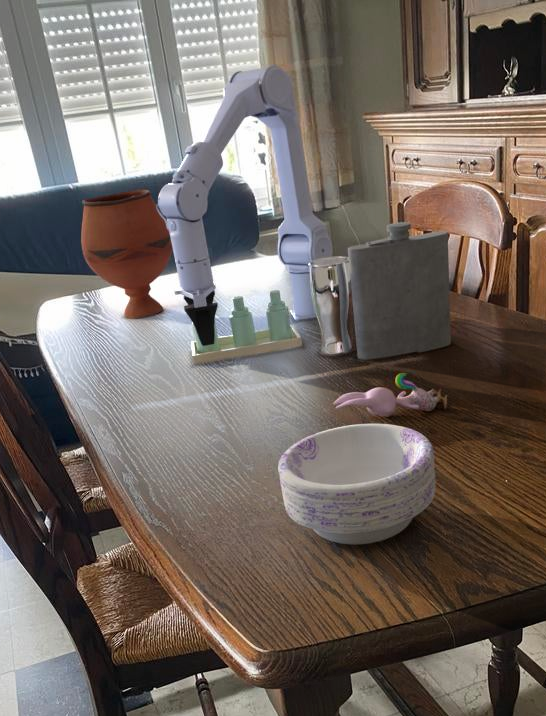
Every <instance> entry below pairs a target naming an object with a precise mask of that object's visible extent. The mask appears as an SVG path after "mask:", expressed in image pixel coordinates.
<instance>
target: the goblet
mask: <svg viewBox="0 0 546 716" xmlns="http://www.w3.org/2000/svg"><path fill="white" fill-rule="evenodd" d="M81 203H82V205H83V211H82V212H83V213H82V222H81V236H80V239H81V240H80V242H81V243H80V244H81V250H82V254H83V258H84V261H85V262H86V264H87V266H88V267H89V268H90V269H91V270H92V271H93V273H95V274H96V275H97V276H98V277H99V278H100V279H102V280H103V281H105V282H106V283H109V284H111V285H112V286H115V287H117V288H119V289H123V290H124V294H125V295H126V296H128V297H129V300H128V303H127V304H126V307H125V309H124V312H123V316H124V318H127V319H139V318H140V319H142V318H147V317H150V316H154V315H157V314H159V313H160V312H162V311H164V307H163V306H162V305H161V303H160V302H159V301H158V300H156V299H155V298H154V297H152V296H151V295H150V292H151V290H152V288H151V284H152V283H153V282H154V281H156V280H157V279H158V277H160V276H161V274H162V273H163V272H164V270H165V269H166V267H167V265H168V264H169V261H170V259H171V256H172V252H173V247H172V242H171V237H170V232H169V229H167V226H166V222H165V220H164V219H163V218H162V217H161V216H160V214H159V213H158V210H157V208H156V205H157V204H156V202H155V201H154V199H153V198H152V193H151V191H150V190H148V189H135V190H131V191H125V192H117V193H113V194H105V195H103V196H102V195H101V196H97V197H93V198H88V199H83V200H82V202H81Z"/></svg>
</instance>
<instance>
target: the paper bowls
mask: <svg viewBox="0 0 546 716" xmlns="http://www.w3.org/2000/svg"><path fill="white" fill-rule="evenodd" d="M277 472H278V475H279V481H280V488H281V494H282V498H283V504H284V507H285V511H286V513H287V515H288V517H290V519H291V520H293V521H294V522H295V523H297V525H299V526H303V527H305V528H307V529H310V530H313V532H315V533H316V534H317V535H318V536H320V537H322V538H323V539H325V540H328V541H329V542H333V543H336V544H343V545H355V546H356V545H367V544H374V543H378V542H382V541H385V540H388V539H390V538H392V537H394V536H396V535H398V534H399V533H401V532H403V531H404V530H405V529H406V528H407V527H408V526H409V525H410V524H411V522H412V521H413V519H414V517H415V518H416V516H418V515H420V514H421V513H422V512H424V510H426V509H427V508H428V507H429V506H430V504H431V503H432V501H433V500H434V498H435V495H436V470H435V452H434V447H433V445H432V443H431V441H430V440H429V439H428V438H427V437H426V436H425V435H423V434H422V433H420V432H419V431H416V430H415V429H413V428H409V427H405V426H401V425H395V424H388V423H357V424H356V423H355V424H350V425H343V426H338V427H334V428H330V429H326V430H323V431H319V432H317V433H314V434H311V435H309V436H306V437H304V438H302V439H300V440H299V441H297V442H295V443H294V444H292V445H291V446H290V447H289V448H287V449H286V451H284V453H283V454H282V455H281V457H280V459H279V460H278V466H277Z"/></svg>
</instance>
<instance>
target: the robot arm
mask: <svg viewBox="0 0 546 716" xmlns="http://www.w3.org/2000/svg"><path fill="white" fill-rule="evenodd" d="M222 91H223V92H222V93H223V98H222V100H221V102H220V105H219V106H218V108H217V111H216V113H215V115H214V117H213V119H212V121H211V123H210V125H209V128H208V130H207V132H206V133H205V136H204V138H203V140H202V141H196V142H194V143H192V144H191V145H188V146H187V148H186V149H185V151H184V152H185V154H186V156H185V157H184V159H183V161H182V163H181V164H180V166H179V168H178V169H177V171H174V173H173V175H172V181H171V183H167V184H164V185H163V187H162V188H161V189H160V191H159V194H158V197H157V204H156V208H157V210H158V213H159V214H160V216H161V217H162V218H163V219H164V220H165V222H166V226H167V229H169V232H170V237H171V242H172V252H173V256H174V261H175V266H176V271H177V277H178V281H179V282H178V283H179V287H177V288H174V289H173V291H174V295H175V296H177V295H178V296H179V295H182V296H183V300H184V301H185V302H186V304H187V305H183V310H184V312H185V313H186V315H187V317H189V319H190V321H191V323H192V322H193V324H194V326H195V329H196V331H197V334H198V337H199V340H200V342H201V344H202V346H206V345H212V344H214V341H215V330H214V322H215V323H216V314H217V310H218V307H219V304H218V302H214V299H215V296H216V289H217V287H216V283H215V282H214V276H213V271H212V270H213V269H212V266H211V259H210V253H209V249H208V243H207V237H206V232H205V227H204V226H205V225H204V221H203V216H204V215H205V214H206V213H207V211H208V206H209V205H208V204H209V203H208V198H209V197H208V196H209V195H210V194H209V191H210V190H211V187H212V186H213V184H214V183H215V181H216V179H217V177H218V175H219V174H220V172H221V170H222V168H223V166H224V161H223V156H222V153H223V152H224V150H225V148H226V147H227V146H228V144H229V143H230V142H231V140H232V138H233V137H234V135H235V133H236V132H237V130H238V129H239V127H240V126H241V124H242V123H243V122H244V120H245V119H246V118H248V117H252V118H256V119H257V120H259V121H260V122H261V123H263V124H264V125H265V126H267V128H269V131H270V132H269V133H270V138H271V143H272V149H273V150H272V151H273V156H274V157H273V158H274V162H275V169H276V175H277V181H278V182H277V183H278V187H279V188H278V189H279V192H280V193H279V194H280V200H281V205H282V211H283V218H284V220H283V221H282V223H281V224H280V225H279V226H278V229H277V236H278V242H277V256H278V259H279V261H280V262H281V264H283V265H284V266H285V271H287V272H288V273H289V275H288V276H289V283H290V291H291V297H292V298H291V299H292V305H293V309H290V310H289V313H290V314H291V316H292V317H293V319H294V321H301V320H308V319H314V318H317V315H316V312H315V308H314V304H313V300H312V295H311V287H310V267H309V263H310V262H311V261H313V260H316V259H320V258H325V257H333V251H334V250H333V243H332V240H331V238H330V236H329V234H328V230H327V225H326V223H324V221H322V220H320V218H318V217H317V216H316V215H315V214H314V212H313V211H314V210H313V205H312V198H311V197H312V196H311V190H310V183H309V175H308V170H307V169H308V168H307V163H306V162H307V161H306V155H305V148H304V143H303V142H304V141H303V133H302V127H301V119H300V114H299V113H300V112H299V109H298V106H297V103H296V100H295V93H294V86H293V80H292V76H291V75H290V74H289V73H288V72H287V71H286V70H284V69H283V68H282V67H281V66H280V65H276V64H271V65H268V66H266V67H260V68H255V69H254V68H253V69H249V70H244V71H243V70H239V71H235V72H234V73H232V74H231V75H230V77H229V79H228V82H227V83H226V84H225V85H224V87H223V90H222ZM193 324H192V325H193Z"/></svg>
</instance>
